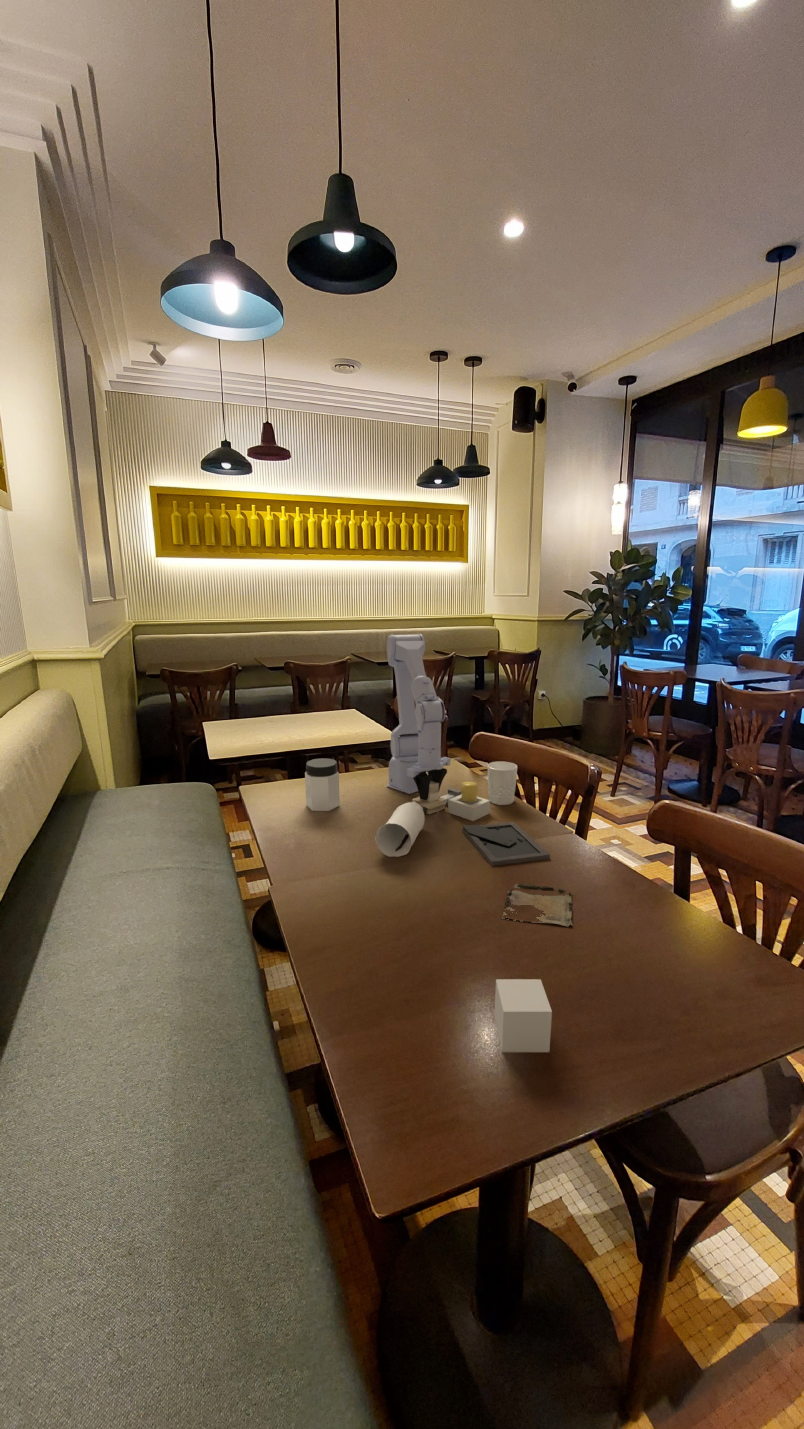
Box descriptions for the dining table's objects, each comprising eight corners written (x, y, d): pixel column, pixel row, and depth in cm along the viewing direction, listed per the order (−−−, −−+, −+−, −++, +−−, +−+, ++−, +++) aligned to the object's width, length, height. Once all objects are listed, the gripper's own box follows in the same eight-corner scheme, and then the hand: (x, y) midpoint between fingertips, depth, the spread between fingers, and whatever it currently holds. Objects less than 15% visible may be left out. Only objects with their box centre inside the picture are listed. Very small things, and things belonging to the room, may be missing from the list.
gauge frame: (448, 812, 149) (448, 799, 148) (464, 805, 154) (465, 792, 153) (473, 821, 143) (473, 807, 143) (489, 813, 148) (490, 800, 147)
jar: (302, 803, 155) (300, 760, 153) (331, 797, 159) (329, 756, 156) (313, 814, 148) (312, 769, 145) (343, 808, 151) (342, 765, 149)
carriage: (412, 808, 151) (412, 783, 149) (427, 802, 155) (427, 777, 154) (430, 814, 146) (430, 789, 145) (445, 808, 151) (446, 783, 149)
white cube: (501, 1053, 72) (503, 1011, 71) (494, 1018, 78) (495, 979, 77) (549, 1052, 72) (552, 1011, 71) (538, 1017, 78) (540, 979, 77)
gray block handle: (400, 816, 146) (400, 807, 145) (451, 796, 160) (451, 788, 159) (411, 820, 144) (411, 811, 143) (461, 799, 158) (461, 791, 157)
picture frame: (462, 833, 138) (491, 868, 121) (462, 825, 137) (491, 859, 120) (513, 827, 141) (549, 861, 124) (514, 820, 140) (550, 852, 123)
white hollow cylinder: (431, 826, 140) (432, 795, 139) (410, 860, 123) (410, 825, 121) (400, 822, 143) (400, 792, 141) (375, 855, 125) (374, 821, 123)
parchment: (572, 893, 110) (572, 888, 110) (573, 931, 98) (573, 926, 98) (507, 884, 114) (507, 880, 113) (500, 920, 101) (500, 915, 101)
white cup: (480, 798, 159) (481, 763, 157) (504, 794, 162) (506, 759, 160) (497, 808, 152) (498, 771, 150) (521, 803, 155) (523, 767, 153)
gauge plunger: (458, 799, 148) (458, 784, 147) (467, 795, 150) (468, 780, 150) (470, 803, 145) (471, 788, 144) (480, 798, 148) (480, 784, 147)
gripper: (421, 755, 139) (421, 808, 142) (459, 744, 149) (458, 793, 152) (401, 750, 144) (401, 801, 147) (439, 739, 154) (438, 787, 157)
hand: (429, 797), depth 150 cm, fingers closed on carriage, 3 cm apart
